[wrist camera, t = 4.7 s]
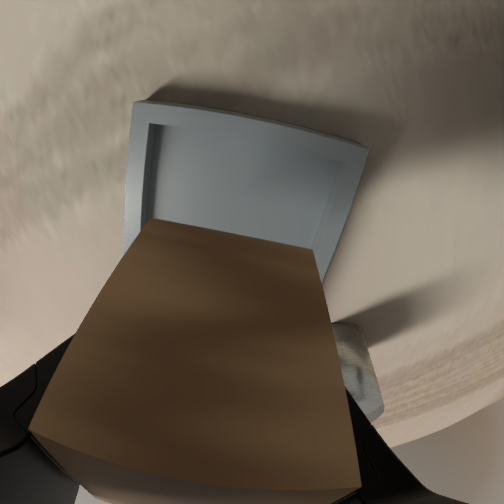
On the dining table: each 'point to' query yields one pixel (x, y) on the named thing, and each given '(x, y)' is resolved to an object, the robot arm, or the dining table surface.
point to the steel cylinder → (358, 369)
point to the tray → (239, 176)
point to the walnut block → (204, 378)
